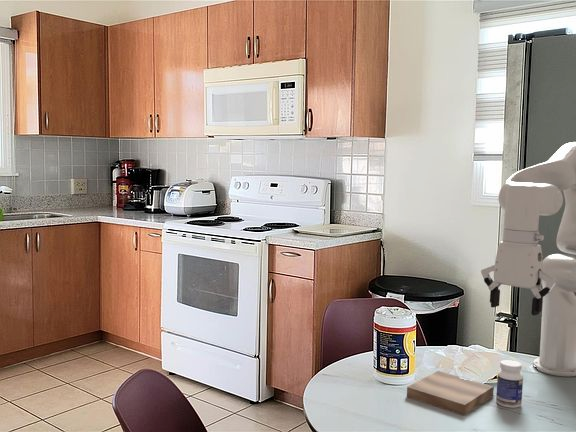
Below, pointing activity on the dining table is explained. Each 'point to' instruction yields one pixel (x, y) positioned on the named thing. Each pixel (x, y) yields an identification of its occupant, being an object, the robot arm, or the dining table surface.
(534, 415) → the dining table surface
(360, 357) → the dining table surface
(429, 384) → the walnut board
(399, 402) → the dining table surface
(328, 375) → the dining table surface
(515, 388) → the pill bottle
